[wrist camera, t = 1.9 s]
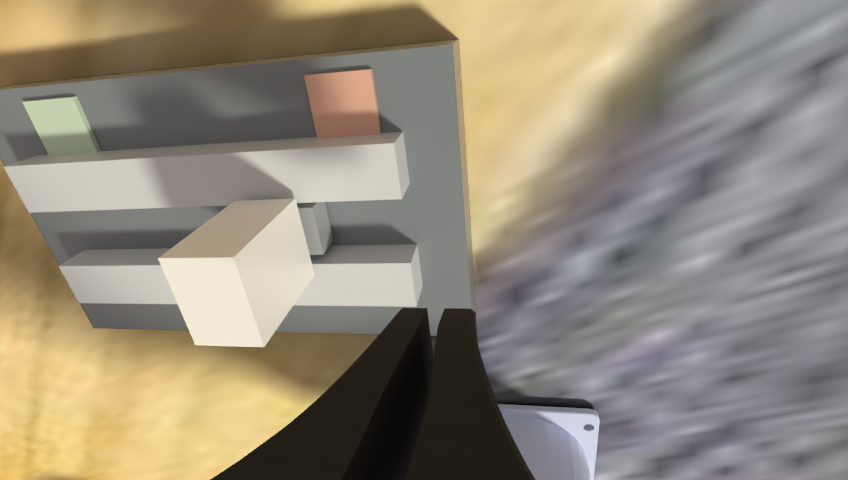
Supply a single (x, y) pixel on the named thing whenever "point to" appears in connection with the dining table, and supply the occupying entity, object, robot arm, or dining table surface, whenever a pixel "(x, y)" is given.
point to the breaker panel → (266, 115)
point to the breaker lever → (246, 269)
